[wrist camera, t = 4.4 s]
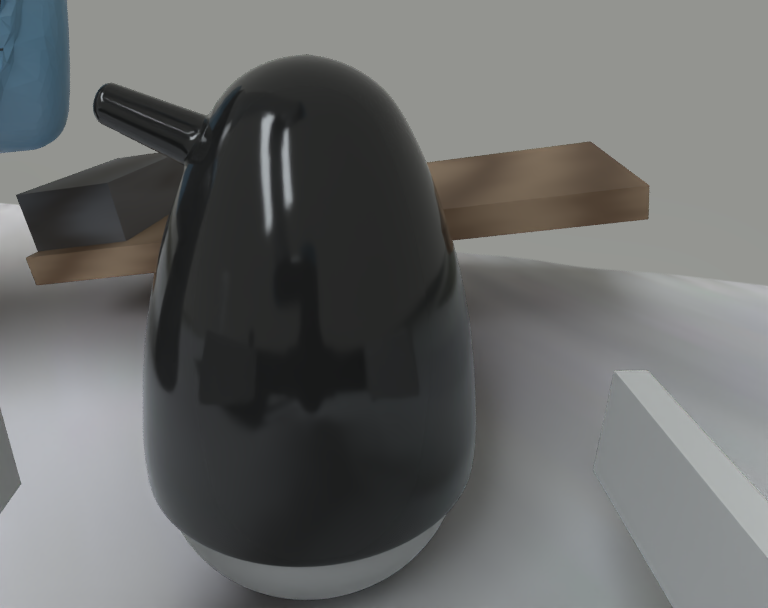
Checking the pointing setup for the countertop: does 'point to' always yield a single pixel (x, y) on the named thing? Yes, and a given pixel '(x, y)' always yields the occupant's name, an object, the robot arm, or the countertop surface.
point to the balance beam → (451, 177)
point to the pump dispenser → (302, 331)
